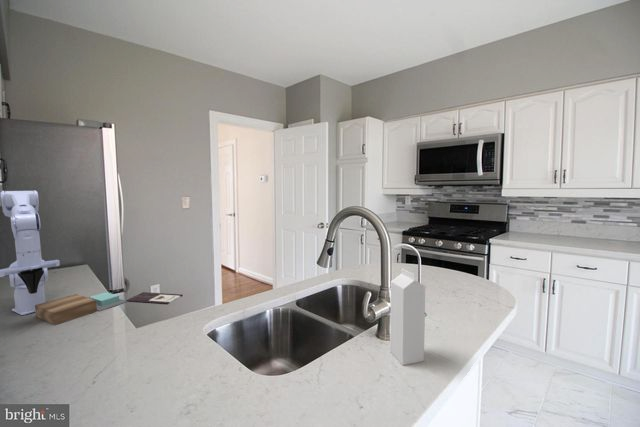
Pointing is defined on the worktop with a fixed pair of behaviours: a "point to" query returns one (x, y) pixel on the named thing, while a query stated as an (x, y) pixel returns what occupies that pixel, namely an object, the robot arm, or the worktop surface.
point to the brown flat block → (65, 309)
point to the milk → (407, 318)
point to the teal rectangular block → (105, 298)
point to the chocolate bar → (154, 298)
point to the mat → (111, 305)
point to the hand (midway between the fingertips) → (32, 292)
